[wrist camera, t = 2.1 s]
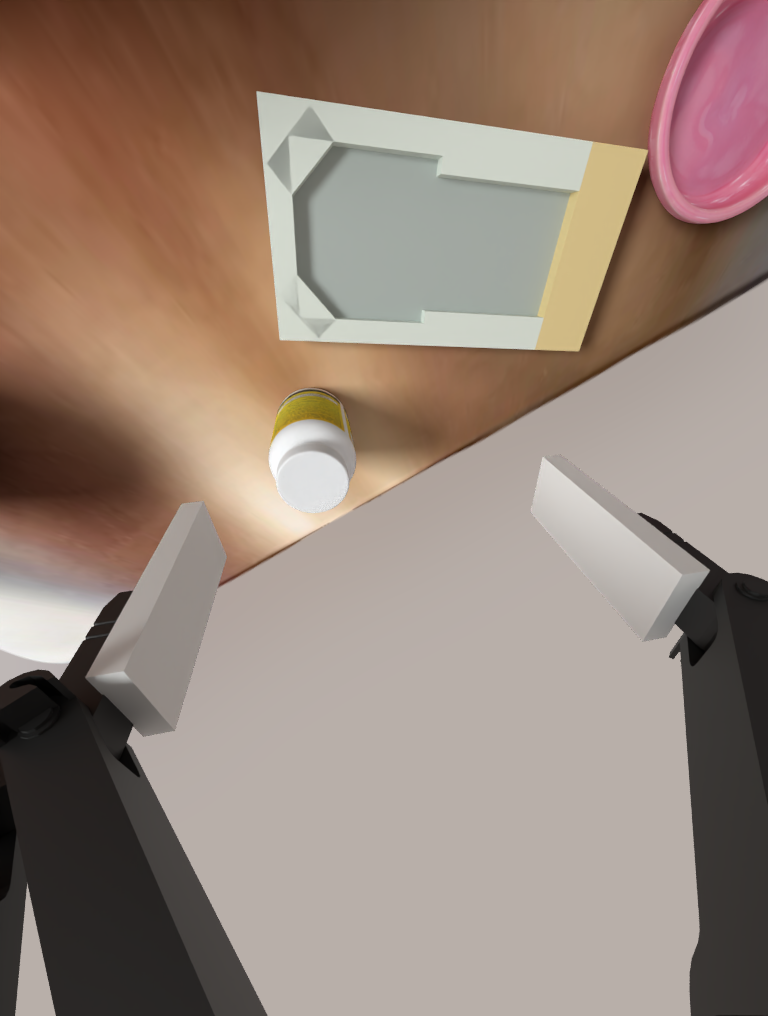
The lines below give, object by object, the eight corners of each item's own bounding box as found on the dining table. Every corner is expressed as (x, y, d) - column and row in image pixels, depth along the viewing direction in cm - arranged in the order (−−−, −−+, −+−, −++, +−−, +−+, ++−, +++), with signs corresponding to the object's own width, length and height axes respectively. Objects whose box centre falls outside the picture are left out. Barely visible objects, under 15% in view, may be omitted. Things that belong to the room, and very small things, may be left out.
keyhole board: (282, 334, 27) (279, 339, 25) (261, 107, 21) (256, 91, 19) (561, 345, 31) (578, 351, 29) (621, 159, 25) (648, 150, 23)
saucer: (619, 37, 22) (660, 7, 19) (836, -106, 20) (913, -160, 17) (630, 259, 29) (661, 259, 26) (790, 169, 27) (840, 159, 24)
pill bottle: (261, 414, 31) (240, 477, 22) (317, 370, 29) (319, 418, 20) (309, 464, 34) (307, 537, 25) (361, 427, 33) (379, 489, 24)
